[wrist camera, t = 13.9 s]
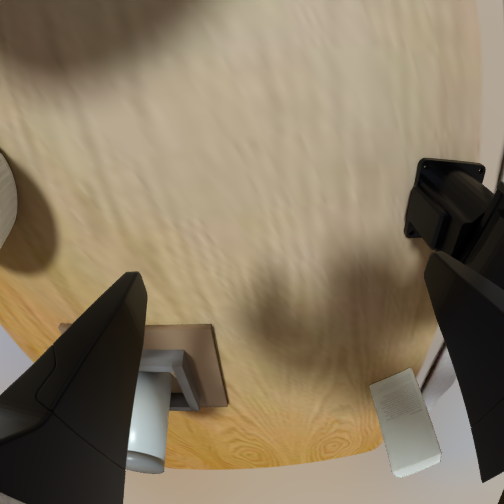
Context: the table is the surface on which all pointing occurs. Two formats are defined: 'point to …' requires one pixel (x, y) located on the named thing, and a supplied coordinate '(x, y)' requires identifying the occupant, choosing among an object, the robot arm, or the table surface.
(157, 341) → the jig board
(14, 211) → the ramekin
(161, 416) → the grey cylinder
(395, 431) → the small box
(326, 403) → the table surface
